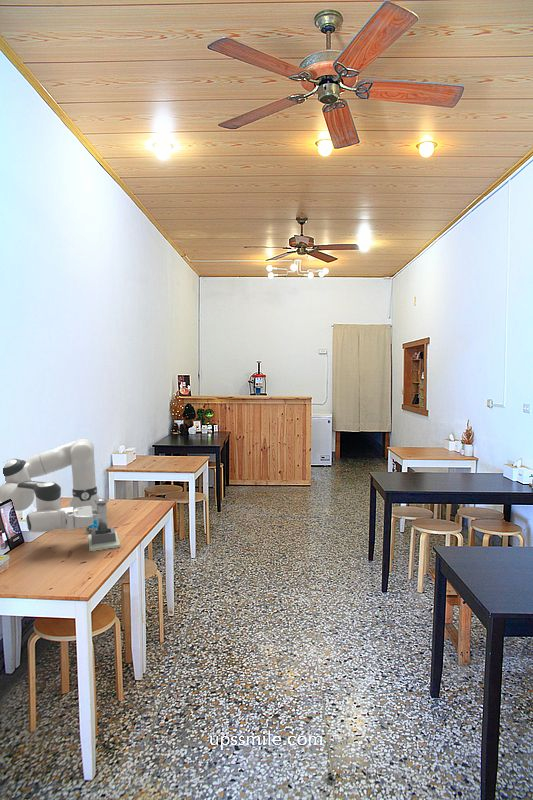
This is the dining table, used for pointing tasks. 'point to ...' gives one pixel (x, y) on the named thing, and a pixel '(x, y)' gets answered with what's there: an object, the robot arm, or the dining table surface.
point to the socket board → (103, 539)
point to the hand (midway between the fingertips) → (104, 513)
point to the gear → (93, 525)
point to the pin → (102, 509)
